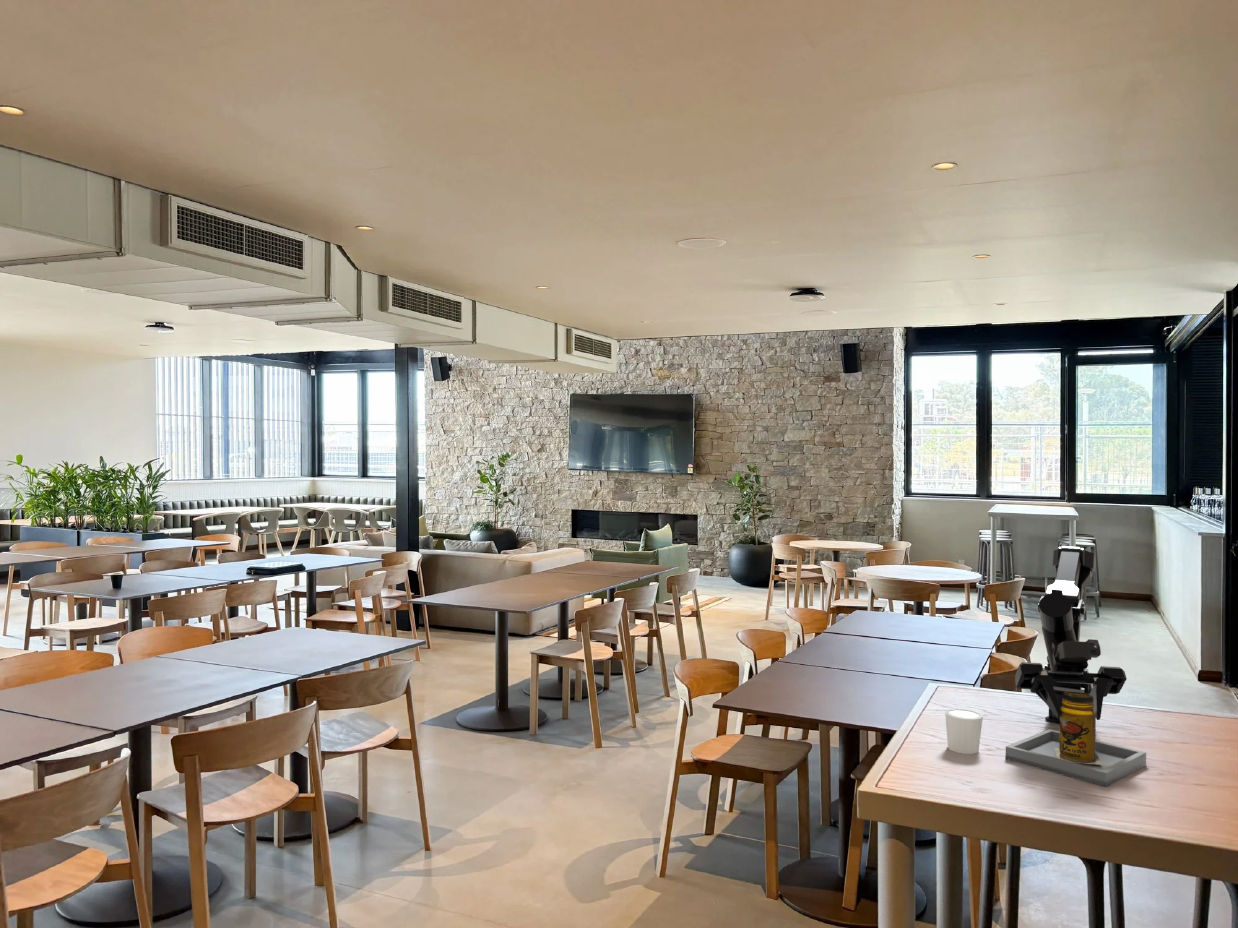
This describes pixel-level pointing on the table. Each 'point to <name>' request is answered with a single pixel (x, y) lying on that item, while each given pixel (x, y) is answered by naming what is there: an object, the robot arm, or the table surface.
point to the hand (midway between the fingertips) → (1078, 717)
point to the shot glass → (963, 730)
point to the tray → (1043, 756)
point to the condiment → (1077, 729)
